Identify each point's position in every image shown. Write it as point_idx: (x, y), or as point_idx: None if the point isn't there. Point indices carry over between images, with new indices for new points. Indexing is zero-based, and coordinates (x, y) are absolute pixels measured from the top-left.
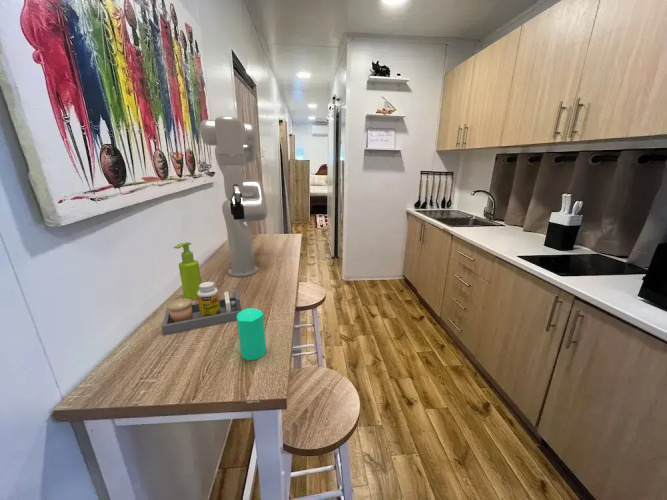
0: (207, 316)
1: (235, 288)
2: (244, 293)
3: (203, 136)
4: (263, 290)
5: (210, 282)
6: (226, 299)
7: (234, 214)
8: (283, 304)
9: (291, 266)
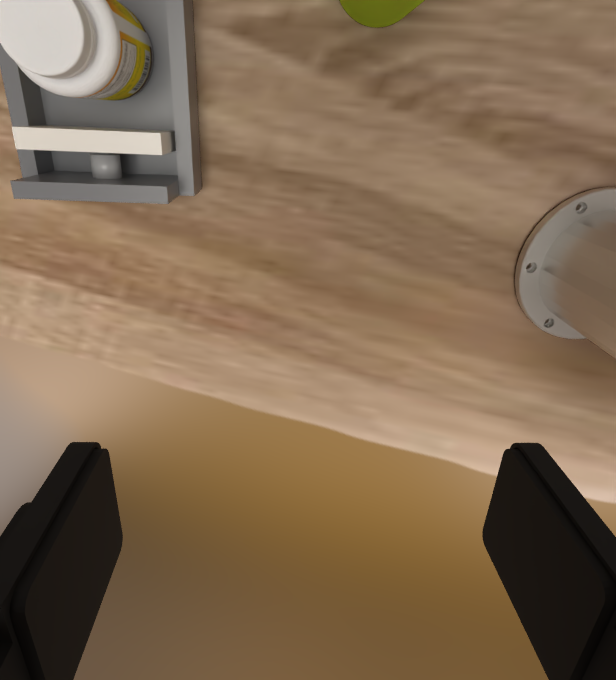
0: None
1: (155, 195)
2: (320, 231)
3: None
4: (313, 311)
5: (63, 53)
6: (62, 135)
7: (47, 501)
8: (151, 352)
9: None
